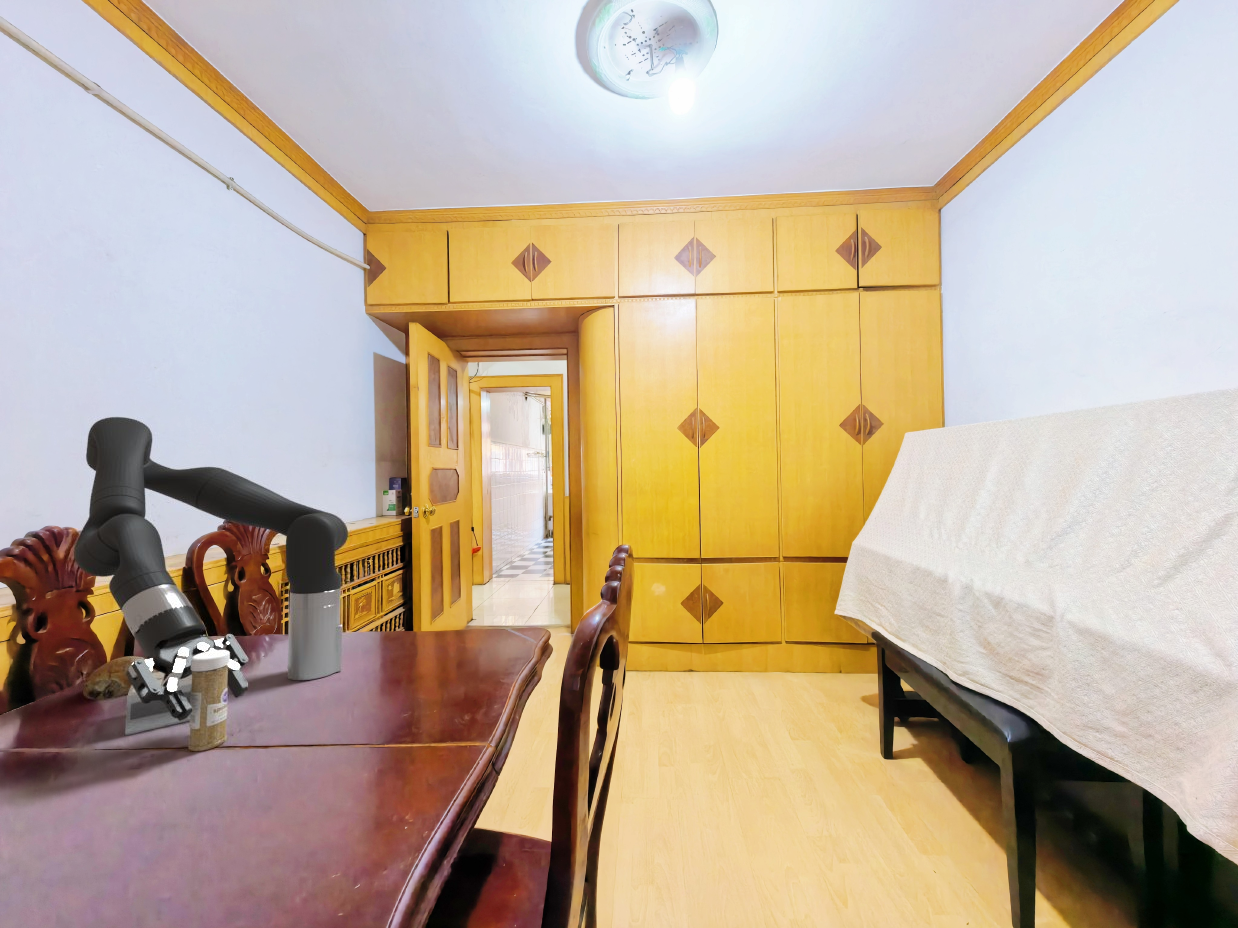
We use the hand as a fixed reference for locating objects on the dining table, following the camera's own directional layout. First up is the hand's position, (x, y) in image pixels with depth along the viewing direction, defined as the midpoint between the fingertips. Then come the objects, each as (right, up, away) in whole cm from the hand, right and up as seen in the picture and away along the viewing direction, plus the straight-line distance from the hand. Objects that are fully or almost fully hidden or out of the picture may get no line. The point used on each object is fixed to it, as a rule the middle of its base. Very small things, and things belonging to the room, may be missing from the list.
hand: (215, 704), depth 75 cm
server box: (-15, -7, +11) cm, 20 cm away
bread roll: (-35, -8, +21) cm, 42 cm away
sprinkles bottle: (-1, -6, 0) cm, 6 cm away
